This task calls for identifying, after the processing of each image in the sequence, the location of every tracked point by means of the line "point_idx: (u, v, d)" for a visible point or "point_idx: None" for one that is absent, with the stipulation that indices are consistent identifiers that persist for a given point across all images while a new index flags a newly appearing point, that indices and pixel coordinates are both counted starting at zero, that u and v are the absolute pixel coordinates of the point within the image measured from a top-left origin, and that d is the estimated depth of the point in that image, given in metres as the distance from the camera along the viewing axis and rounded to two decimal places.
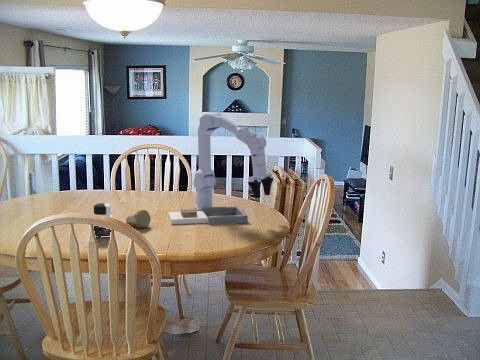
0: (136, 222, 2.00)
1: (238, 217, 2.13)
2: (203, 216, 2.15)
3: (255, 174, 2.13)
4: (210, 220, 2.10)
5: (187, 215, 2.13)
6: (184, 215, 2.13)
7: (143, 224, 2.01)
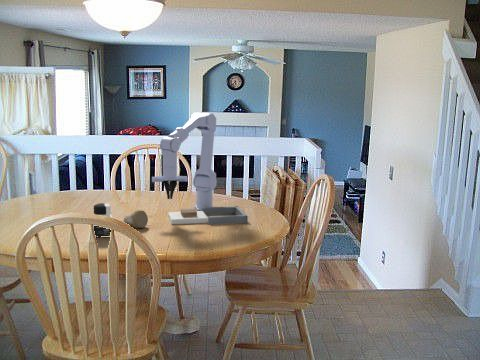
0: (133, 222, 2.00)
1: (238, 217, 2.13)
2: (203, 216, 2.15)
3: (163, 175, 2.11)
4: (210, 220, 2.10)
5: (187, 215, 2.13)
6: (184, 215, 2.13)
7: (140, 224, 2.00)
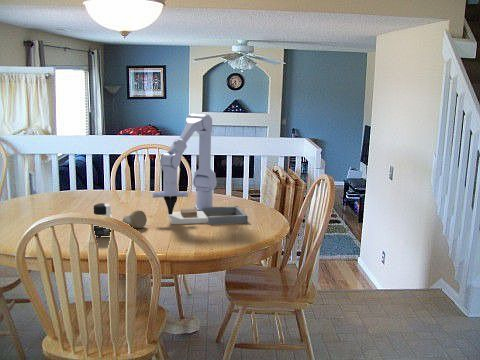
0: (131, 222, 1.99)
1: (238, 217, 2.13)
2: (203, 216, 2.15)
3: None
4: (210, 220, 2.10)
5: (187, 215, 2.13)
6: (184, 215, 2.13)
7: (138, 225, 2.00)
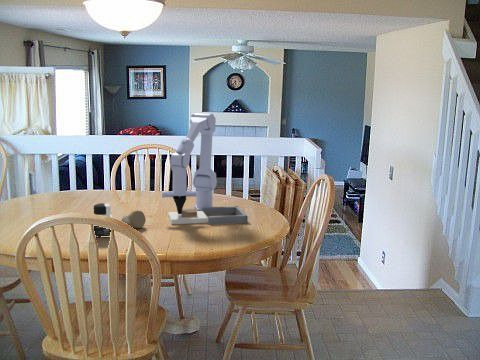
0: (130, 222, 1.99)
1: (238, 217, 2.13)
2: (203, 216, 2.15)
3: None
4: (210, 220, 2.10)
5: (187, 215, 2.13)
6: (184, 215, 2.13)
7: (137, 225, 2.00)
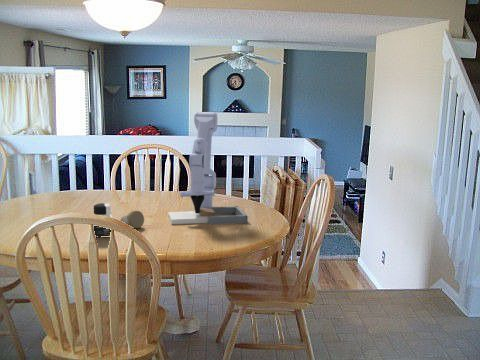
0: (128, 223, 1.99)
1: (238, 217, 2.13)
2: (203, 216, 2.15)
3: None
4: (210, 220, 2.10)
5: (205, 214, 2.15)
6: (202, 214, 2.14)
7: (135, 225, 2.00)
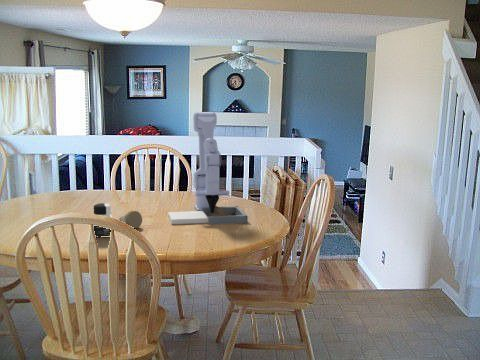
0: (126, 223, 1.99)
1: (238, 217, 2.13)
2: (203, 216, 2.15)
3: (205, 189, 2.16)
4: (210, 220, 2.10)
5: (221, 213, 2.17)
6: (219, 211, 2.16)
7: (133, 225, 1.99)
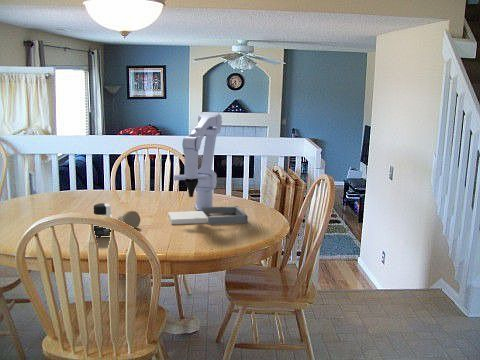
0: None
1: (238, 217, 2.13)
2: (203, 216, 2.15)
3: (184, 173, 2.15)
4: (210, 220, 2.10)
5: None
6: None
7: (131, 225, 1.99)
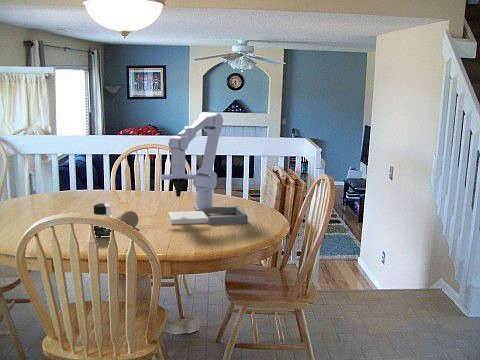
0: None
1: (238, 217, 2.13)
2: (203, 216, 2.15)
3: None
4: (210, 220, 2.10)
5: None
6: None
7: None
